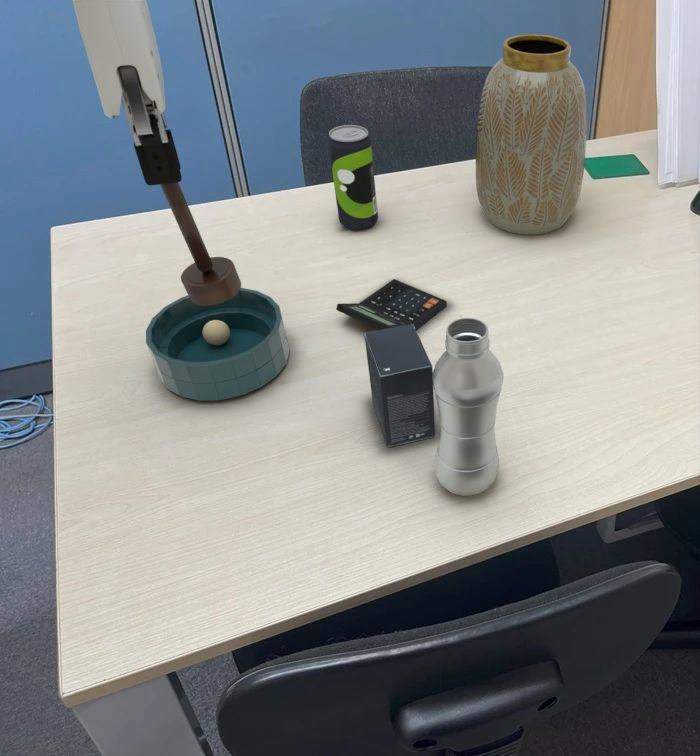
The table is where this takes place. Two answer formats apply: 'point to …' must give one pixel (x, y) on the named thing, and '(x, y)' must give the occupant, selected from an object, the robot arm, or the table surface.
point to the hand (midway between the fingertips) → (163, 176)
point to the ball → (216, 332)
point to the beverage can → (353, 176)
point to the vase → (531, 136)
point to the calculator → (395, 307)
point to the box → (401, 384)
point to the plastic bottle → (467, 408)
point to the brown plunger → (201, 258)
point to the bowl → (218, 346)
